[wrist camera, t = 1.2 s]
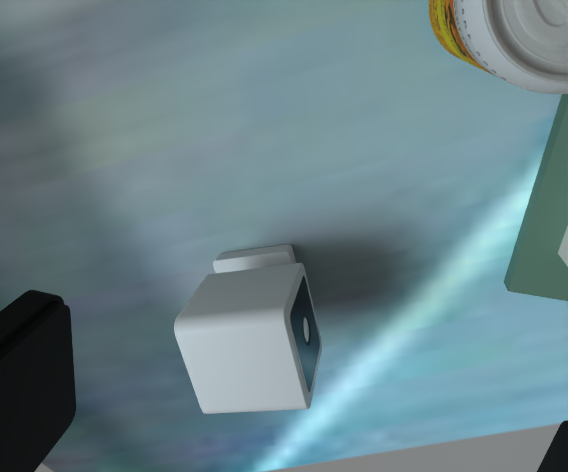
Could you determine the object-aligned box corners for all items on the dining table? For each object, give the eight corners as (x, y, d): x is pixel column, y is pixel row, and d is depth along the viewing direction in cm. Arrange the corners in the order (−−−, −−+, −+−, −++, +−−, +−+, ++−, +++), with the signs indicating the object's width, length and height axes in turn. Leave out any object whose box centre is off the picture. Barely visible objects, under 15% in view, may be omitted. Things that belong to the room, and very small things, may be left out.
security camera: (330, 315, 35) (310, 415, 26) (238, 324, 37) (190, 420, 28) (312, 234, 33) (283, 313, 24) (216, 248, 35) (156, 326, 26)
